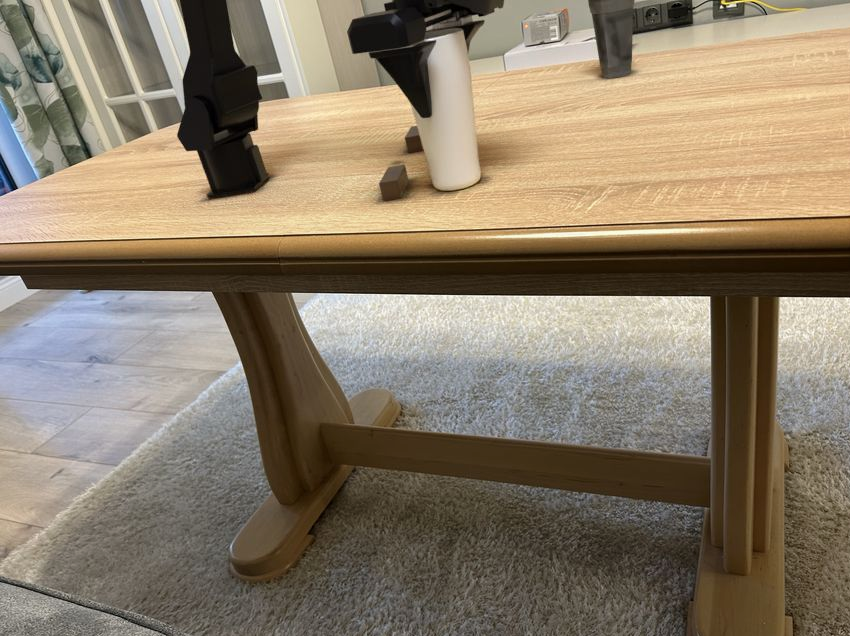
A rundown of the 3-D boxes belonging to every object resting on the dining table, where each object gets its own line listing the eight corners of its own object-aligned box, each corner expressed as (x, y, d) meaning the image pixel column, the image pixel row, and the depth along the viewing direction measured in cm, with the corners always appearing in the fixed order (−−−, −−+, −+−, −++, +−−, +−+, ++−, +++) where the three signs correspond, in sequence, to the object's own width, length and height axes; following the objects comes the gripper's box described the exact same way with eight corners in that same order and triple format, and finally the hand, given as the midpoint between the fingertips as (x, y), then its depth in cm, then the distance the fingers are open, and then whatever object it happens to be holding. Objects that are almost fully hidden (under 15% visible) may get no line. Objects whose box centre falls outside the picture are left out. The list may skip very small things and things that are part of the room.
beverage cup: (585, 77, 114) (572, -64, 104) (626, 67, 115) (617, -74, 105) (606, 82, 108) (595, -68, 98) (649, 71, 109) (642, -78, 99)
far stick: (422, 150, 92) (419, 135, 91) (407, 152, 92) (404, 137, 91) (428, 138, 97) (425, 124, 96) (413, 141, 97) (410, 126, 96)
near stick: (401, 198, 75) (396, 180, 74) (383, 201, 76) (378, 183, 75) (408, 181, 81) (405, 164, 80) (391, 183, 81) (387, 166, 80)
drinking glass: (482, 191, 73) (455, 34, 65) (419, 197, 74) (387, 46, 67) (493, 170, 78) (470, 24, 71) (435, 177, 80) (406, 35, 72)
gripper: (437, -75, 54) (472, 130, 62) (530, -90, 68) (549, 79, 75) (323, -50, 59) (368, 136, 67) (430, -68, 73) (458, 88, 81)
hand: (443, 108), depth 72 cm, fingers closed on drinking glass, 6 cm apart
